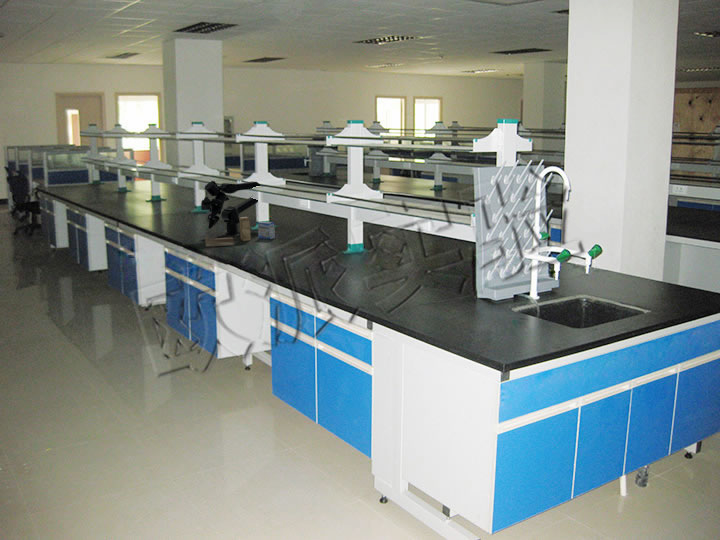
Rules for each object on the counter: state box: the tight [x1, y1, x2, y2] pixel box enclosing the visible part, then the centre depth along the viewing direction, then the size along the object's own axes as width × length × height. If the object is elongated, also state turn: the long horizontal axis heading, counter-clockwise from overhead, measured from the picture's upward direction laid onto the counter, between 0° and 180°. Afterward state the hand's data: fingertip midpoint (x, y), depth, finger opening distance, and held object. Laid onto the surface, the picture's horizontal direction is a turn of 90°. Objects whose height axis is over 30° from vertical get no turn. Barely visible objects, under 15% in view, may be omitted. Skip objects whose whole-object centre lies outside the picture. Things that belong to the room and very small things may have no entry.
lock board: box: [204, 234, 235, 248], centre depth 361 cm, size 14×14×4 cm
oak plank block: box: [239, 216, 251, 242], centre depth 368 cm, size 4×4×12 cm
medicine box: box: [257, 221, 276, 240], centre depth 372 cm, size 8×4×9 cm, turn 62°
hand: (210, 223), depth 370 cm, fingers open, 9 cm apart
